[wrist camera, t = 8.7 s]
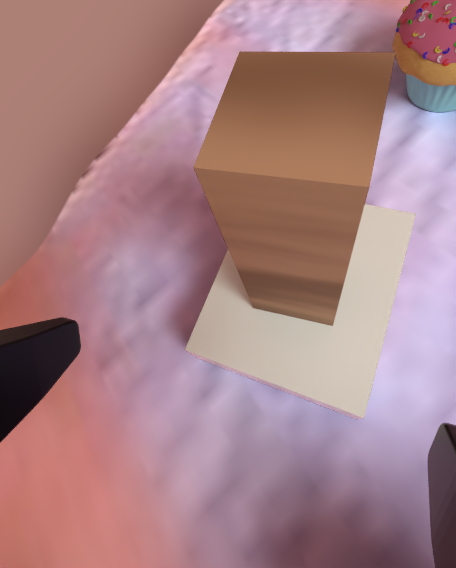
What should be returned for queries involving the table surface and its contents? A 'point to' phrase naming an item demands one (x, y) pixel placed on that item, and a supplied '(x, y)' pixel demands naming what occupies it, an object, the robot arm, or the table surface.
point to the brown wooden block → (294, 171)
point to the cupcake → (428, 53)
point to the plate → (312, 324)
